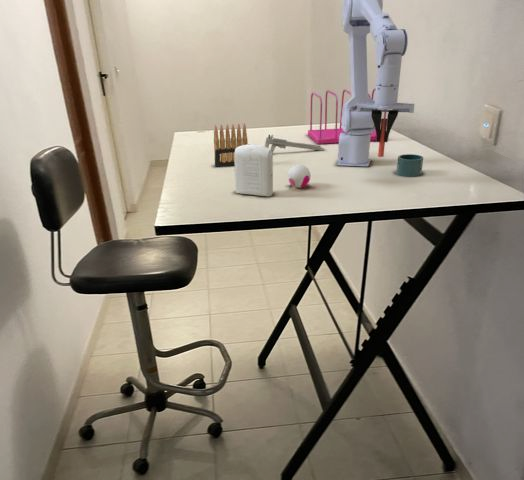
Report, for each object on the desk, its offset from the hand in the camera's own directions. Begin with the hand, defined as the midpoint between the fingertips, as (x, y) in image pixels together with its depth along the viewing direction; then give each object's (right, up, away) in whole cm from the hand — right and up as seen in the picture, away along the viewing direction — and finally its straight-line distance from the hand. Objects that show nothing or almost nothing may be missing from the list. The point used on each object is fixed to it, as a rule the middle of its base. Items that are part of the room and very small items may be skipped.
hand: (382, 141), depth 141 cm
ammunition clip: (-42, +2, +24) cm, 48 cm away
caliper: (-21, +11, +37) cm, 44 cm away
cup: (+10, -5, +11) cm, 16 cm away
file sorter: (-1, +22, +54) cm, 58 cm away
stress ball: (-22, -12, +2) cm, 25 cm away
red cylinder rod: (0, -3, +2) cm, 4 cm away
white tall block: (-34, -15, -2) cm, 37 cm away
